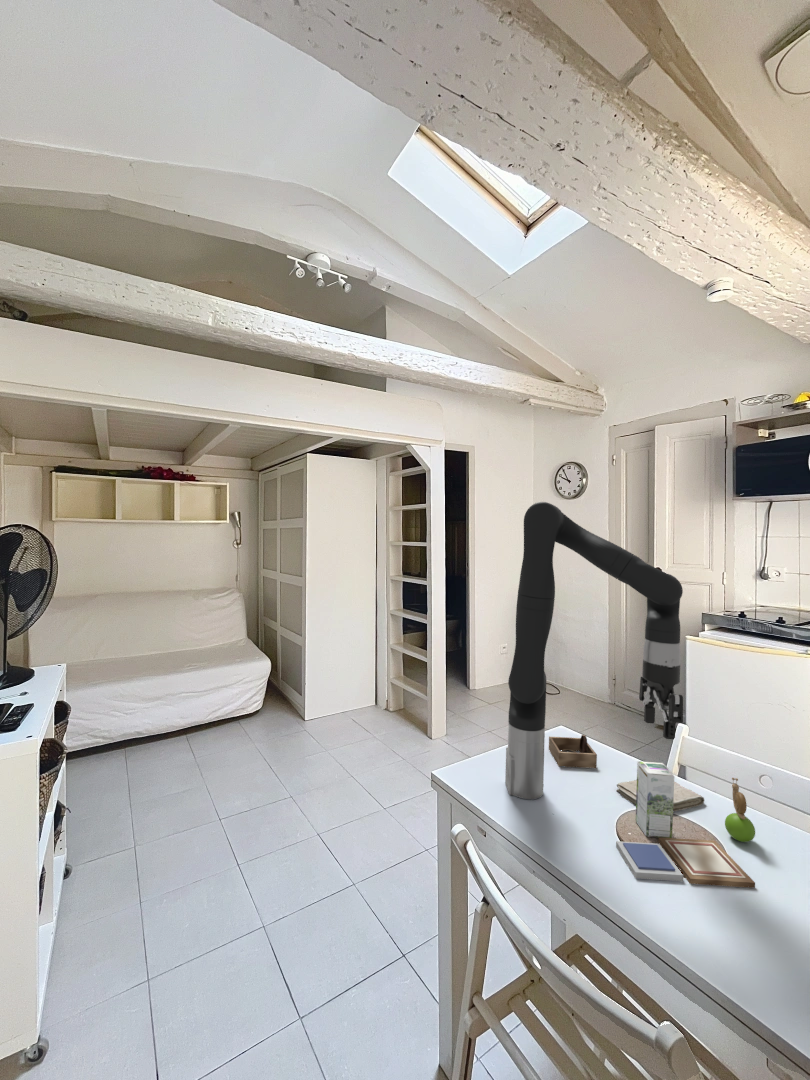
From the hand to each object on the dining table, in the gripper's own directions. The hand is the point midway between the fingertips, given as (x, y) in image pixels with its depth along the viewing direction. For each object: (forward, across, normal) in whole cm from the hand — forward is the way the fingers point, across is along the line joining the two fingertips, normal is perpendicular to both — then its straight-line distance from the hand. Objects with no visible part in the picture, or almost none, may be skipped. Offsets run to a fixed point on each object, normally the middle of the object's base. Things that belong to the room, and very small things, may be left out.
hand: (658, 730), depth 103 cm
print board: (+22, +12, +4) cm, 25 cm away
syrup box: (+22, +2, -1) cm, 23 cm away
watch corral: (+22, -32, -8) cm, 40 cm away
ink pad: (+22, +12, -8) cm, 27 cm away
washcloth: (+23, -12, +7) cm, 27 cm away
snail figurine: (+22, +3, +17) cm, 28 cm away
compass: (+23, -31, -8) cm, 39 cm away
